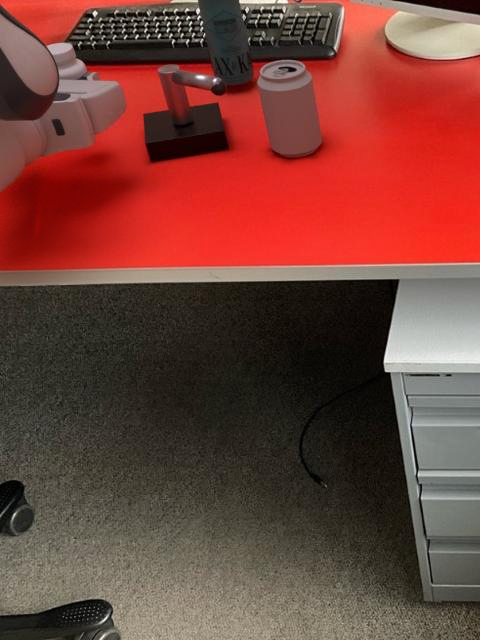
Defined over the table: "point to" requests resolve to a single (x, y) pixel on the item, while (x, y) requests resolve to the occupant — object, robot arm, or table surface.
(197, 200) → the table surface
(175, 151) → the tap base
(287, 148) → the can
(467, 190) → the table surface
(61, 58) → the pill bottle
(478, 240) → the table surface
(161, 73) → the spout
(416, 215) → the table surface
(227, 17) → the beverage bottle
